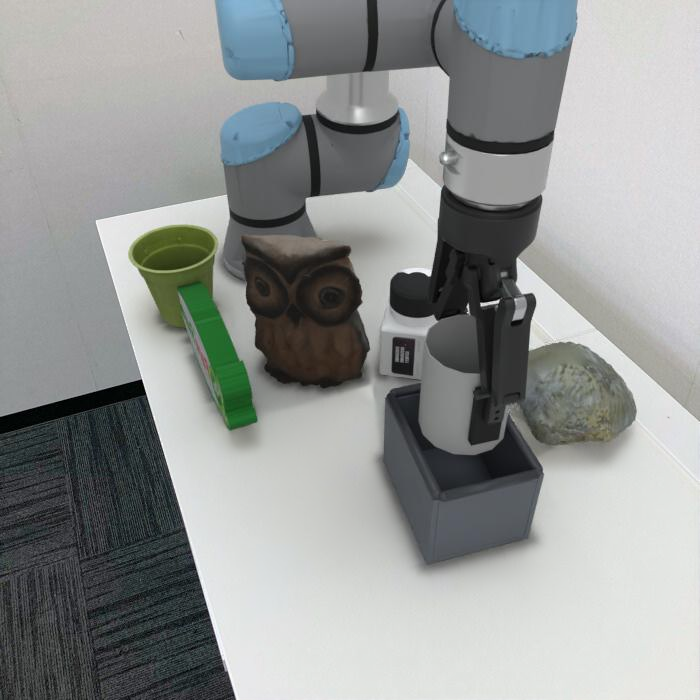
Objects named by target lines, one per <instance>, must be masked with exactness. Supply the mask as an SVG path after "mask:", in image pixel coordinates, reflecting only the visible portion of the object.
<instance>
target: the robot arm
mask: <svg viewBox="0 0 700 700" xmlns="http://www.w3.org/2000/svg"><path fill="white" fill-rule="evenodd" d="M578 2H579V0H214V4H215V5H214V6H215V13H216V22H217V29H218V36H219V37H218V38H219V43H220V50H221V57H222V64H223V67H224V70H225V72H226V73H227V74H228V76H230V77H231V78H232V79H235V80H237V81H267V80H272V81H274V82H284V81H288V80H297V79H305V78H315V77H316V78H317V77H325V79H326V80H325V83H326V85H325V86H326V87H325V89H324V90H323V91H322V92H321V93H320V94H319V95H318V96H317V98H316V100H315V113H312V114H304V115H303V114H302V112H301V110H300V109H299V108H298V106H296V105H295V104H293V103H289V102H286V101H285V102H280V101H268V102H262V103H256V104H254V105H253V104H252V105H249V106H246V107H244V108H241V109H239V110H238V111H236V112H234V113H233V114H232V115H230V116H229V117H228V118H226V120H224V122H223V124H222V126H221V128H220V131H219V142H220V152H219V153H220V154H219V157H220V161H221V163H222V165H223V172H224V181H225V189H226V196H227V198H226V199H227V205H228V209H229V210H228V212H229V219H228V224H227V228H226V234H225V237H224V244H223V246H222V247H223V248H222V256H223V262H224V266H225V268H226V269H227V271H229V273H230V274H232V275H233V276H235V277H236V278H239V279H241V280H243V281H246V279H245V277H244V276H245V273H244V264H245V262H246V252H245V249H244V246H243V244H242V242H241V240H242V238H241V236H242V235H244V234H245V233H247V234H248V235H249V236H250V235H259V236H263V235H266V236H268V235H296V236H299V237H303V238H304V237H315V238H318V235H317V233H316V231H315V228H314V226H313V224H312V221H311V219H310V217H309V214H308V212H307V203H306V199H307V198H315V197H325V196H336V195H343V194H351V193H352V194H353V193H363V192H365V193H373V192H376V191H378V190H385V189H391V188H394V187H395V186H396V185H398V184H399V183H400V181H401V180H402V179H403V177H404V174H405V173H406V170H407V166H408V162H409V158H410V148H411V141H410V139H409V138H410V134H411V133H410V132H411V131H410V121H409V118H408V115H407V113H406V111H405V110H404V109H403V108H402V107H401V106H399V101H398V98H397V97H396V96H395V94H393V92H392V91H390V90H389V88H390V86H389V85H390V71H398V70H409V69H423V68H435V67H436V68H438V67H439V68H440V69H441V70H442V71H443V73H445V74H446V76H447V77H448V78H449V82H448V83H449V84H448V97H447V113H446V114H447V115H446V122H445V123H446V124H445V129H446V131H445V143H444V144H445V145H444V151H441V152H440V153H439V155H438V156H439V163H440V164H441V165H442V166H443V168H442V169H443V170H442V171H443V172H442V182H443V184H444V185H443V186H442V188H441V189H440V198H439V199H440V200H439V211H438V218H437V237H436V238H437V241H436V245H435V250H434V256H433V262H432V268H431V271H432V273H431V278H430V284H429V289H428V296H427V299H428V301H429V303H430V304H435V309H434V317H435V319H436V320H437V321H439V320H441V319H444V318H448V317H452V316H455V315H459V314H461V315H471V316H473V317H475V319H476V330H477V343H478V356H479V369H480V382H481V386H479V387H475V390H474V391H473V395H474V399H473V406H472V413H471V420H470V427H469V434H468V441H469V443H470V445H471V446H472V445H477V444H481V443H486V442H490V441H495V440H499V436H500V430H501V425H502V421H503V419H504V414H505V408H506V405H510V406H511V405H514V404H518V403H519V402H524V401H525V396H526V382H527V368H528V355H529V350H530V339H531V326H532V320H533V318H534V314H535V311H536V308H537V298H536V296H535V294H534V293H533V292H527V293H522V292H521V290H520V288H519V287H518V285H517V282H518V267H517V266H518V261H517V260H518V257H519V256H520V255H521V254H522V253H523V252H524V251H525V250H526V249H527V248H529V247H530V245H531V244H532V243H533V242H534V241H535V239H536V237H537V232H538V227H539V222H540V216H541V211H542V205H543V193H544V191H545V190H546V189H547V188H546V187H547V182H548V176H549V170H550V165H551V159H552V158H551V157H552V152H553V147H554V141H555V134H556V133H555V131H556V127H557V124H558V123H557V122H558V118H559V113H560V107H561V102H562V96H563V92H564V87H565V82H566V77H567V71H568V67H569V62H570V56H571V53H572V48H573V47H572V46H573V41H574V37H576V36H575V35H576V33H577V29H578V17H579V16H578V12H577V10H578ZM442 287H444V288H443V290H439V289H440V288H442ZM497 301H498V303H497ZM491 302H492V304H487V303H491ZM493 302H496V303H493ZM481 304H486V305H482V306H481Z"/></svg>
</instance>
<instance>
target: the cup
mask: <svg viewBox="0 0 700 700" xmlns="http://www.w3.org/2000/svg"><path fill="white" fill-rule="evenodd" d="M420 383H421V391H420V405H419V419H418V421H419V424H420V427H421V431H422V434H423V435H424V436H425V437H426V438H427V439H428V440H429V441H430V442H431V443H432V444H433V445H434V446H435V447H437V448H440V449H442V450H445V451H447V452H450V453H452V454H461V455H476V454H479V453H482V452H486V451H489V450H492V449H493V448H494V447H495V446H496V445H497V444H498V443H499V442H500V441H501V440H502V439H503V438H504V432H505V427H506V422H507V417H508V414H509V412H510V406H511V404H510V405H506V408H505V414H504V419H503V421H502V425H501V430H500V436H499V440H495V441H490V442H486V443H481V444H477V445H472V446H471V445H470V443H469V441H468V434H469V427H470V420H471V413H472V406H473V399H474V395H473V391H474V390H475V387H479V386H481V382H480V369H479V356H478V343H477V330H476V319H475V317H473V316H471V315H470V314H469V315H461V314H459V315H455V316H452V317H448V318H444V319H441V320H439V321H438V322H437V323H435V324H434V325H433V326H431V327H430V328H429V329H428V332H427V335H426V337H425V340H424V349H423V363H422V377H421V380H420Z"/></svg>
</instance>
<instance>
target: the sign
mask: <svg viewBox="0 0 700 700" xmlns="http://www.w3.org/2000/svg"><path fill="white" fill-rule="evenodd" d="M177 290H178V295H179V301H180V307H181V312H182V318H183V321H184V324H185V327H186V328H185V330H186V333H187V335H188V339H189V341H190V344H191V347H192V349H193V353H194V355H195V358H196V360H197V363H198V365H199V368H200V371H201V373H202V376H203V378H204V380H205V383H206V385H207V388H208V390H209V392H210V394H211V397H212V399H213V401H214V403H215V405H216V407H217V409H218V411H219V413H220V414H221V416H222V418H223V421H224V424H225V426H226V428H227V430H228V431H229V432H232V431H234V430H237V429H241V428H244V427H247V426H250V425H254V424H257V422H258V421H259V418H258V414H257V411H256V409H255V407H254V402H253V392H252V390H253V389H252V386H251V382H250V378H249V374H248V370H247V367H246V365H245V361H244V360H243V359H241V360H240V357H239V356H238V352H237V350H236V348H235V345H234V343H233V341H232V338H231V336H230V333H229V331H228V329H227V326H226V323H225V322H224V319H223V318H222V315H221V314H220V311H219V309H218V307H217V305H216V304H215V303H216V302H214V299H212V298H211V296H210V294H209V292H208V291H207V289H206V287H205V286H204V285H203V283H202V282H201V281H199V282H196V283H193V284H189V285H185V286H180V287H177Z"/></svg>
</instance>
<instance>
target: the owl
mask: <svg viewBox="0 0 700 700" xmlns="http://www.w3.org/2000/svg"><path fill="white" fill-rule="evenodd" d="M241 238H242V240H241V242H242V244H243V246H244V249H245V252H246V262H245V264H244V273H245V276H244V277H245V279H246V280H245V283H246V285H245V301H246V305H247V306H248V307H249V310H250V312H251V313H252V314H253V315H254V317H255V321H254V329H255V332H254V333H255V335H254V346H255V348H256V349H257V350H258V351H259V352H261V353H262V354H263V356H264V357H265V358H266V362H265V364H264V366H263V370H264V372H266V373H267V374H269V376H270V377H271V378H273V379H275V380H276V381H277V382H278V383H282V384H283V385H287V384H292V383H294V384H295V383H296V384H297V383H298V384H299V385H300V386H301V387H309V386H319V387H320V388H322V389H323V390H324V389H328V388H331V387H339V386H341V385H342V384H344V383H346V382H350V381H353V380H356V379H357V380H358V379H360V378H362V377H363V372H362V370H363V368H364V365H365V363H366V360H367V356H368V353H370V351H371V345H370V340H369V337H368V336H367V332H366V329H365V324H364V322H363V320H362V317H361V313H360V311H358V309H359V308H360V306H361V305H363V303H364V302H363V301H364V300H363V288H362V285H361V281H360V280H361V279H360V278H359V277H358V276H357V274H356V271H355V268H354V264H353V262H352V261H351V258H350V256H351V255H350V254H351V253H352V246H350V245H349V244H343V243H339V242H334V241H329V240H325V239H322V238H318V237H317V238H315V237H304V238H303V237H299V236H296V235H268V236H266V235H263V236H259V235H250V236H249V235H248V234H247V233H245V234H244V235H242V236H241Z"/></svg>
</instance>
